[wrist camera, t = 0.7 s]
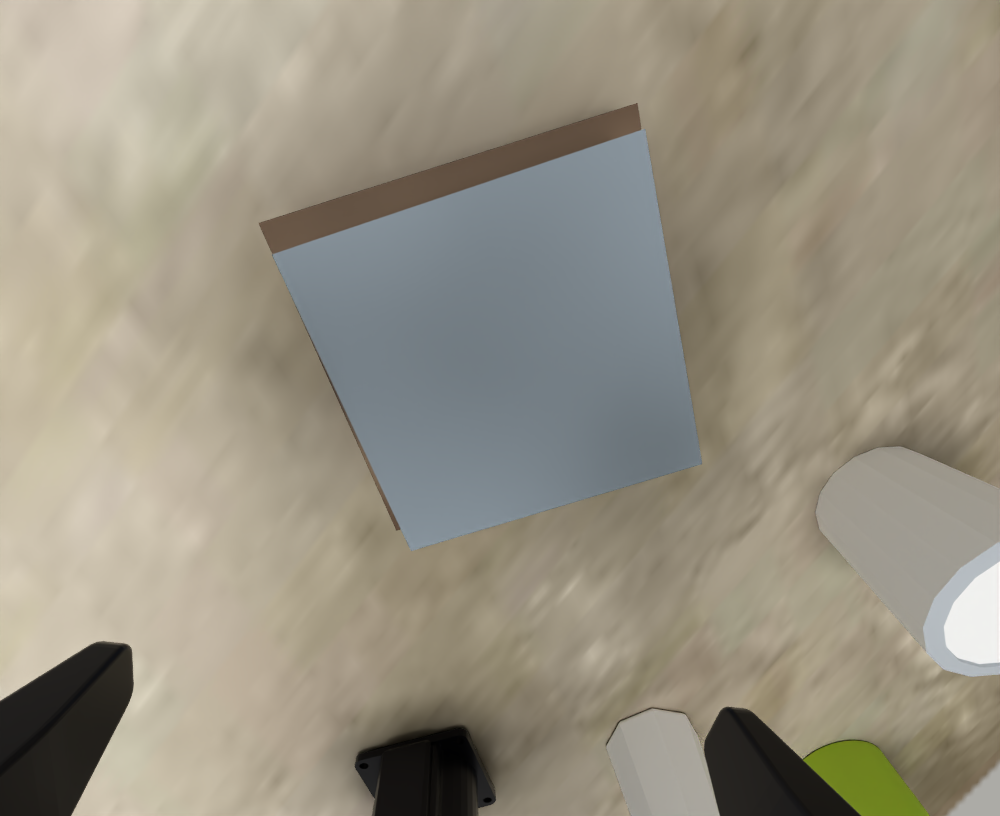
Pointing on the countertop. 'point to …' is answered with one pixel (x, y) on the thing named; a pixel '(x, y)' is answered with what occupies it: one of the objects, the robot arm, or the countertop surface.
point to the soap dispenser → (865, 779)
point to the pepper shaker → (661, 766)
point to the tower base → (441, 192)
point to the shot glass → (923, 550)
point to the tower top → (506, 342)
